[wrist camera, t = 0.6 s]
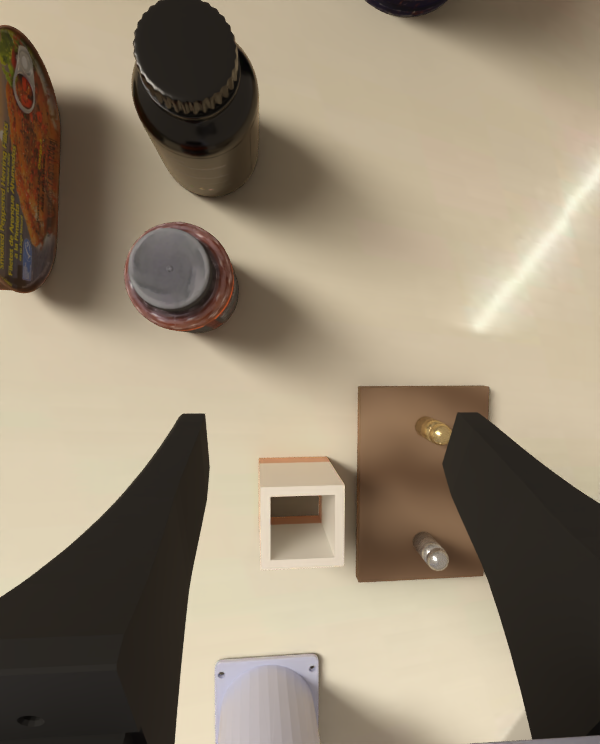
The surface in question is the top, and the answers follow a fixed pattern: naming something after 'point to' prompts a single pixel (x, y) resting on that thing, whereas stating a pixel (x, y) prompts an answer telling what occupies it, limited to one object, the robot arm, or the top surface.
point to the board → (409, 482)
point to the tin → (27, 165)
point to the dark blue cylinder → (406, 6)
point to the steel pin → (430, 551)
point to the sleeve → (301, 533)
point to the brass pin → (433, 430)
